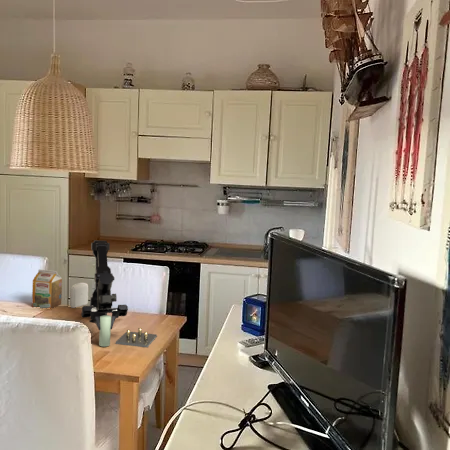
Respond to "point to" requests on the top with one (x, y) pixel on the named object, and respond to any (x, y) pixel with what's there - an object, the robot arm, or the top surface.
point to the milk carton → (47, 289)
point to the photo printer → (78, 295)
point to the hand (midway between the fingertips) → (105, 329)
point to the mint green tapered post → (105, 330)
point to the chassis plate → (136, 338)
